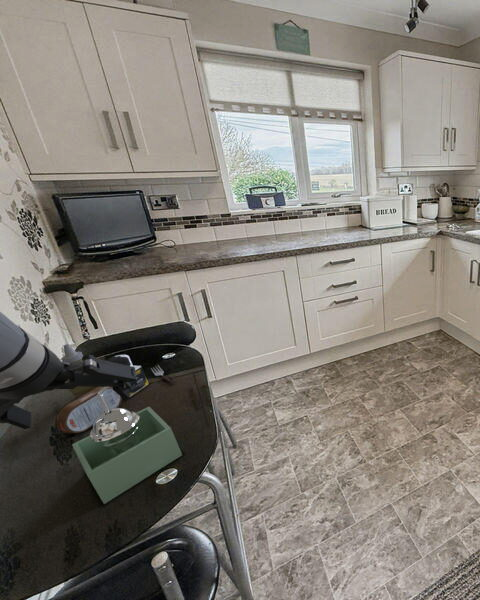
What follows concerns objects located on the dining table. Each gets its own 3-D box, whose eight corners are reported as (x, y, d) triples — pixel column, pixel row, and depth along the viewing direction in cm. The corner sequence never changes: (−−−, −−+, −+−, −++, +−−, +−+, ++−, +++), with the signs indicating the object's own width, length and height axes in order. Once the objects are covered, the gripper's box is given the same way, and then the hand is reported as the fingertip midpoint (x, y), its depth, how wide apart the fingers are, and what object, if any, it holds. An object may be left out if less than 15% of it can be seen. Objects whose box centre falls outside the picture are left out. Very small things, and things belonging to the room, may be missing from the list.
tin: (120, 402, 99) (109, 379, 96) (128, 403, 98) (117, 379, 95) (64, 440, 85) (48, 414, 82) (73, 441, 85) (58, 415, 82)
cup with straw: (108, 461, 75) (69, 389, 68) (154, 439, 81) (123, 370, 74) (110, 483, 69) (67, 407, 62) (160, 458, 75) (126, 385, 68)
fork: (168, 386, 105) (166, 381, 104) (152, 373, 114) (149, 368, 113) (177, 382, 107) (175, 377, 106) (160, 369, 116) (158, 364, 115)
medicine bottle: (129, 397, 101) (113, 364, 97) (110, 397, 102) (94, 364, 98) (149, 384, 107) (135, 352, 103) (131, 383, 109) (117, 352, 105)
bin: (87, 471, 74) (71, 444, 72) (160, 431, 85) (148, 406, 82) (104, 504, 66) (86, 475, 63) (182, 455, 76) (170, 428, 73)
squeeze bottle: (96, 399, 102) (70, 349, 95) (67, 404, 101) (39, 353, 94) (113, 384, 109) (90, 336, 103) (86, 389, 108) (61, 341, 102)
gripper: (-159, 429, 35) (-23, 457, 52) (130, 360, 47) (165, 400, 64) (-145, 367, 38) (-20, 412, 55) (124, 316, 50) (159, 366, 67)
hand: (80, 406), depth 60 cm, fingers open, 13 cm apart
